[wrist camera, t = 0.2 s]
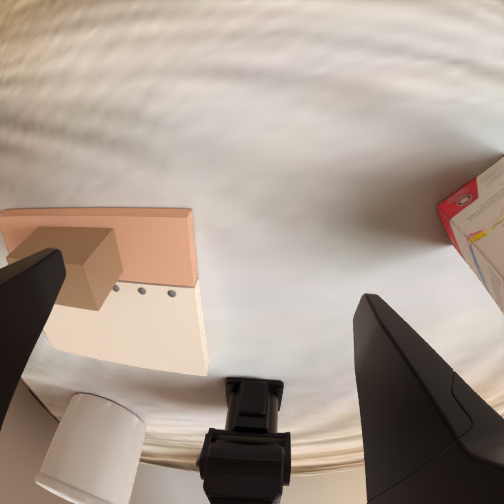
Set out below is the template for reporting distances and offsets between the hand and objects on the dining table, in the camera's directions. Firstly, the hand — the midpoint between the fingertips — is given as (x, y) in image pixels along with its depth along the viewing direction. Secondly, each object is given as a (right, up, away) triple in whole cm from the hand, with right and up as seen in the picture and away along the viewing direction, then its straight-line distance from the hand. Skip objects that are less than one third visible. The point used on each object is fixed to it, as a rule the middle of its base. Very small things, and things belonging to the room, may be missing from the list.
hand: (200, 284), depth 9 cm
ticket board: (-13, -6, +22) cm, 26 cm away
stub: (-13, +2, +17) cm, 21 cm away
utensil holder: (-22, -26, +36) cm, 50 cm away
